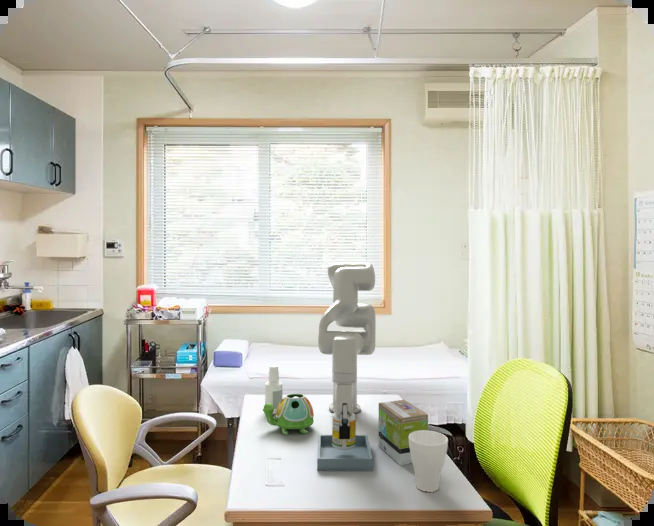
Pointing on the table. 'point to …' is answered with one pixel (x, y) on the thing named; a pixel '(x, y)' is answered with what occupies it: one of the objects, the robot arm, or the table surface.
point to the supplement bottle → (336, 442)
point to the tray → (344, 455)
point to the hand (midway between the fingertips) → (343, 433)
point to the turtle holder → (291, 413)
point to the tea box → (399, 428)
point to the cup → (427, 458)
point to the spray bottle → (273, 388)
